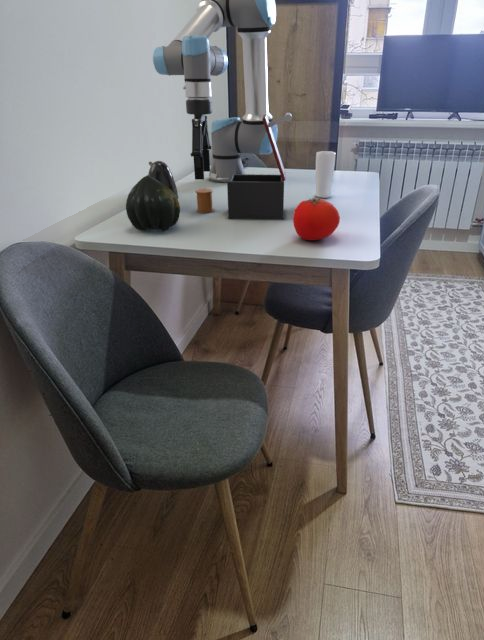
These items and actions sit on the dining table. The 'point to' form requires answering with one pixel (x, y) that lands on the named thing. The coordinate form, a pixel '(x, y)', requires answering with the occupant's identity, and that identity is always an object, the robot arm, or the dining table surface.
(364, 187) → the dining table surface
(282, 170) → the lid
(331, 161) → the drinking glass
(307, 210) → the tomato
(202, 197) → the orange tapered cylinder
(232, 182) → the black storage bin
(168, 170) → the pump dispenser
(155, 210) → the squash
